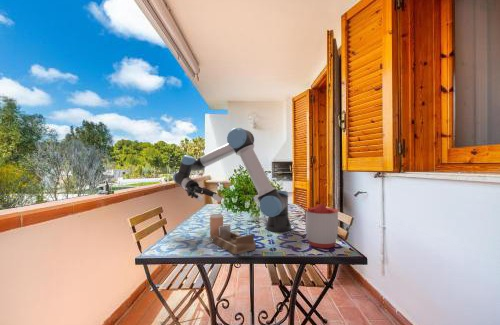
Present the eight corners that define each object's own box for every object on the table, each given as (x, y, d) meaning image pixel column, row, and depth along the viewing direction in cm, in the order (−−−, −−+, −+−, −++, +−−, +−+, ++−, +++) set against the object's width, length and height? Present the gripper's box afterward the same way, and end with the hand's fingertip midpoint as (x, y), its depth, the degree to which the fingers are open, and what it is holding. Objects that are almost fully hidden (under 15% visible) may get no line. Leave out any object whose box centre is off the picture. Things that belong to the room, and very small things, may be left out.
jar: (223, 235, 140) (223, 213, 140) (223, 239, 133) (222, 216, 133) (210, 235, 140) (210, 214, 140) (209, 239, 133) (209, 216, 133)
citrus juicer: (306, 238, 134) (306, 200, 134) (341, 242, 126) (340, 202, 126) (297, 246, 120) (297, 204, 120) (335, 252, 112) (335, 207, 112)
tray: (212, 242, 129) (212, 228, 129) (231, 238, 135) (231, 225, 135) (235, 254, 110) (235, 238, 110) (255, 249, 117) (255, 234, 117)
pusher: (218, 239, 128) (218, 226, 128) (229, 237, 131) (229, 224, 132) (220, 240, 127) (220, 226, 127) (230, 238, 130) (230, 225, 131)
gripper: (204, 192, 165) (225, 206, 151) (170, 190, 146) (191, 206, 132) (207, 181, 164) (229, 194, 150) (174, 178, 145) (195, 192, 131)
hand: (211, 200), depth 141 cm, fingers open, 13 cm apart
